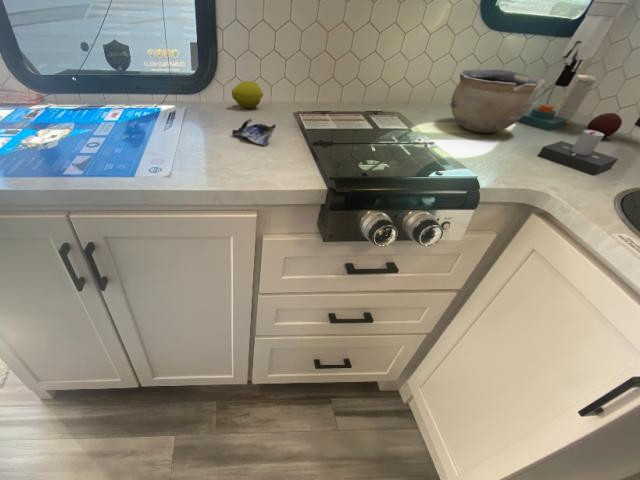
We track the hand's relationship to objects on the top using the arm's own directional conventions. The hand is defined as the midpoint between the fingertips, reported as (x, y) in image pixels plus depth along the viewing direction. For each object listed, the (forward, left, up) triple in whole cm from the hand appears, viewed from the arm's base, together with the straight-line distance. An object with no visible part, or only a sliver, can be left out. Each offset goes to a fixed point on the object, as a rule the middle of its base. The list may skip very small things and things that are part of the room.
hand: (561, 85), depth 110 cm
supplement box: (-2, -11, -12) cm, 16 cm away
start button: (0, 0, -8) cm, 8 cm away
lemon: (+56, +83, -12) cm, 101 cm away
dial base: (-23, +26, -11) cm, 36 cm away
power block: (0, 0, -11) cm, 11 cm away
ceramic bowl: (+6, +26, -11) cm, 29 cm away
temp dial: (-23, +26, -9) cm, 36 cm away
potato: (-16, -4, -12) cm, 20 cm away
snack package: (+30, +97, -12) cm, 102 cm away
